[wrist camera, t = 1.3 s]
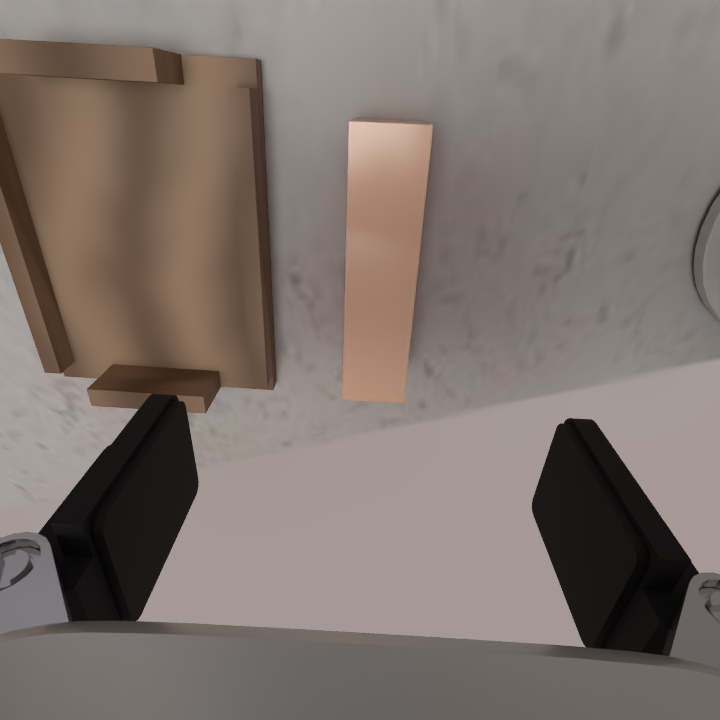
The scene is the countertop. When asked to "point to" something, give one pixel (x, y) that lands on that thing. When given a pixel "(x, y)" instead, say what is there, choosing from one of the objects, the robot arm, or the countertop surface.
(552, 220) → the countertop surface
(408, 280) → the clay block
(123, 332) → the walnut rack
